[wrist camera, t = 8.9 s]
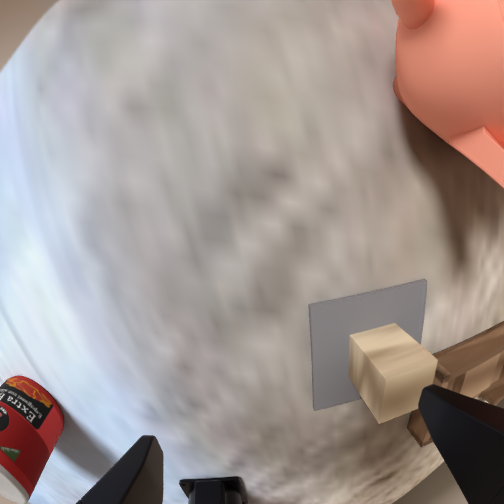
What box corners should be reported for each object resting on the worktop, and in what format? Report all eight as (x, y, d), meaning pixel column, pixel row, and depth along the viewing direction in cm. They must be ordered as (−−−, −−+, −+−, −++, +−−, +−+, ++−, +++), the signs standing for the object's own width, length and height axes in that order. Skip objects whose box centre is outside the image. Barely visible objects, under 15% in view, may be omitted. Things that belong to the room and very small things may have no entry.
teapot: (418, 207, 19) (574, 239, 6) (311, 9, 16) (388, -113, 2) (512, 141, 19) (613, 142, 6) (437, -6, 15) (518, -57, 2)
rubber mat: (412, 377, 23) (414, 379, 23) (313, 408, 22) (314, 410, 22) (424, 278, 21) (427, 280, 20) (308, 304, 20) (310, 306, 20)
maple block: (390, 363, 22) (427, 404, 16) (348, 376, 21) (378, 424, 16) (394, 322, 21) (437, 360, 15) (349, 334, 21) (386, 379, 15)
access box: (497, 379, 26) (512, 391, 22) (407, 428, 25) (421, 447, 21) (516, 313, 24) (535, 324, 20) (423, 357, 23) (444, 376, 19)
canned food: (59, 388, 20) (7, 471, 9) (72, 441, 22) (39, 516, 11) (-1, 361, 19) (-59, 424, 8) (16, 416, 21) (-24, 478, 10)
